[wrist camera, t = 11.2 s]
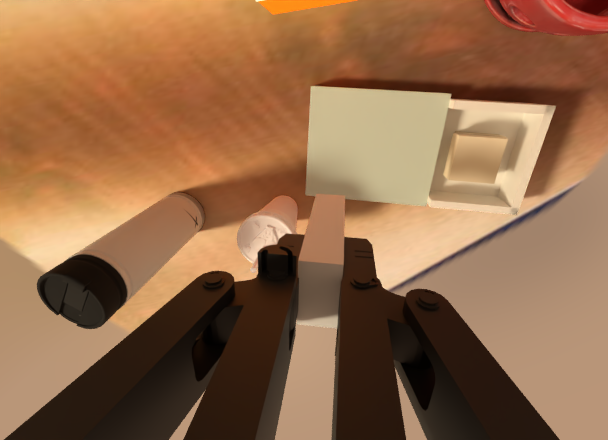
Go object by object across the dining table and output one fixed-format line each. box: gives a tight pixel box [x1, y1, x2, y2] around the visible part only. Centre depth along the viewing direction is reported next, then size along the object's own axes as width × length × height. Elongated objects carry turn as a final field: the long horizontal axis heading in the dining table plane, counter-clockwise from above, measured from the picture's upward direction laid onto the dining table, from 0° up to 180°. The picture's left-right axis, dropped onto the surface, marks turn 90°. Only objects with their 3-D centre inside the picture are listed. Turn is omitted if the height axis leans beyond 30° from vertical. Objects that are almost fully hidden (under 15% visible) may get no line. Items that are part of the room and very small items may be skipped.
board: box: [305, 86, 451, 206], centre depth 35 cm, size 12×14×2 cm
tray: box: [427, 98, 556, 215], centre depth 33 cm, size 11×9×4 cm
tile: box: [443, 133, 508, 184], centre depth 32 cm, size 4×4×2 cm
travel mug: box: [37, 192, 205, 329], centre depth 34 cm, size 6×7×20 cm
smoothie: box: [237, 195, 298, 273], centre depth 35 cm, size 6×6×14 cm
